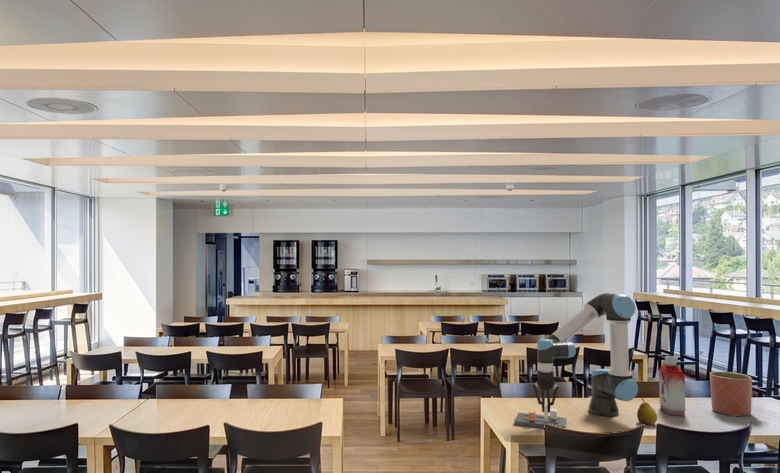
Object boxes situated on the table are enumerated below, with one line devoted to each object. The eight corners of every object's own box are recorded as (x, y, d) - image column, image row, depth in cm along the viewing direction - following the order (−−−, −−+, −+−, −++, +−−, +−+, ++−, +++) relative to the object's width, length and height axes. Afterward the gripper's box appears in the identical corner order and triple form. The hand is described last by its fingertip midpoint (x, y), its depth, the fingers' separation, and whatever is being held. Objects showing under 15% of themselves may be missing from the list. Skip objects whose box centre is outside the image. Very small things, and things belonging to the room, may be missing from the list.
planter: (727, 406, 286) (726, 370, 287) (761, 416, 268) (760, 378, 269) (702, 408, 281) (701, 372, 282) (735, 419, 263) (734, 380, 263)
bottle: (687, 416, 266) (686, 359, 268) (666, 415, 268) (665, 358, 270) (677, 408, 280) (676, 354, 282) (657, 407, 282) (656, 353, 284)
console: (566, 421, 256) (566, 417, 256) (565, 431, 242) (565, 426, 242) (518, 416, 265) (518, 412, 265) (514, 424, 251) (514, 420, 251)
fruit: (659, 427, 249) (658, 402, 250) (639, 425, 252) (638, 401, 252) (655, 421, 258) (654, 398, 258) (635, 420, 260) (635, 396, 261)
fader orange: (535, 419, 253) (535, 410, 253) (534, 421, 250) (534, 413, 250) (529, 418, 254) (529, 410, 255) (528, 420, 251) (528, 412, 251)
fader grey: (557, 417, 256) (557, 409, 256) (556, 419, 252) (556, 411, 253) (550, 416, 257) (550, 408, 257) (550, 418, 254) (550, 410, 254)
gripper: (559, 370, 252) (560, 418, 251) (532, 368, 257) (533, 415, 256) (558, 373, 245) (559, 422, 244) (531, 371, 250) (531, 419, 249)
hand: (546, 418), depth 250 cm, fingers closed
